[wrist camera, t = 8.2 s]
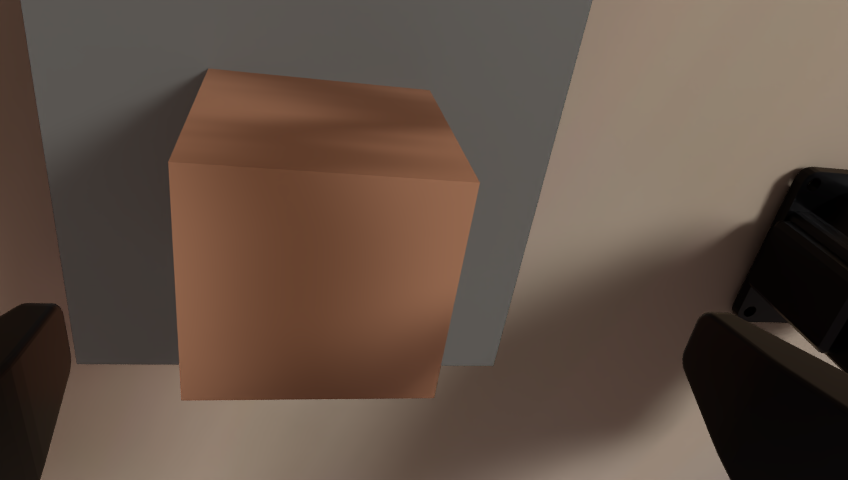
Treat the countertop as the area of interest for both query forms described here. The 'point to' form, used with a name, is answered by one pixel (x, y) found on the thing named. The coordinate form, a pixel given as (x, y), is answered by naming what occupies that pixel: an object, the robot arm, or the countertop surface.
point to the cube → (315, 239)
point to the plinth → (296, 57)
